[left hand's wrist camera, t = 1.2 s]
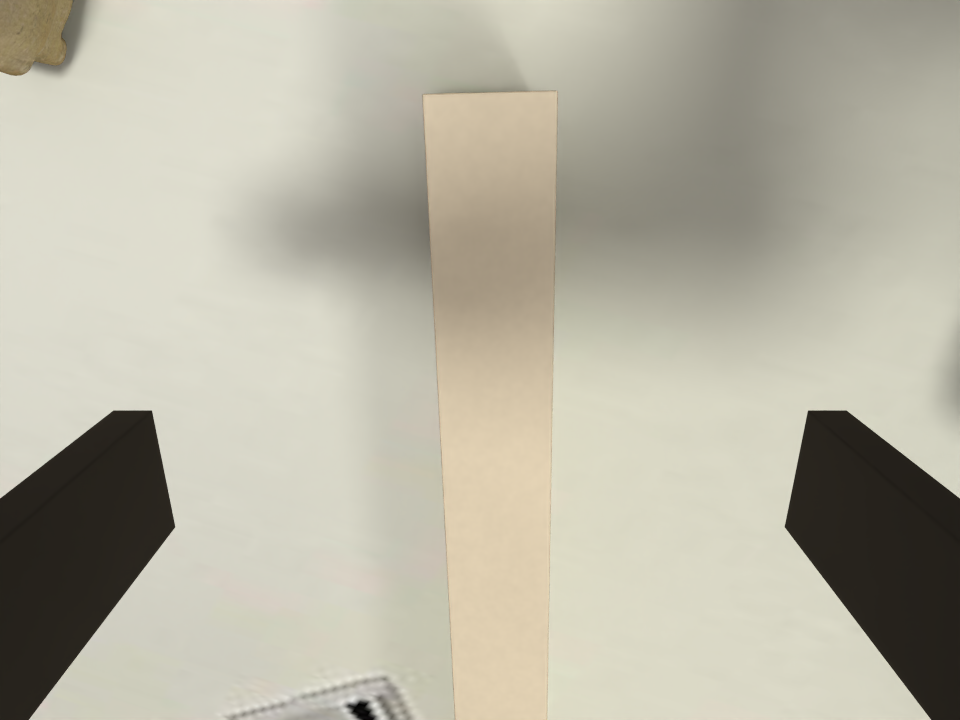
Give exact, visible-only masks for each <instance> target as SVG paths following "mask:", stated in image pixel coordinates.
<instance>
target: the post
mask: <svg viewBox="0 0 960 720" xmlns="http://www.w3.org/2000/svg"><path fill="white" fill-rule="evenodd" d="M422 97H423V116H424V135H425V155H426V174H427V193H428V212H429V231H430V250H431V269H432V288H433V307H434V327H435V346H436V365H437V384H438V403H439V422H440V441H441V460H442V479H443V499H444V518H445V537H446V556H447V575H448V594H449V613H450V632H451V651H452V671H453V690H454V709H455V720H547V690H548V632H549V574H550V516H551V458H552V400H553V342H554V285H555V227H556V169H557V111H558V91H520V92H482V93H444V94H423V96H422Z"/></svg>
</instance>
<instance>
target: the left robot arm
mask: <svg viewBox="0 0 960 720" xmlns="http://www.w3.org/2000/svg"><path fill="white" fill-rule="evenodd" d="M174 528H175V524H174V519H173V514H172V509H171V504H170V499H169V494H168V489H167V484H166V479H165V474H164V469H163V464H162V459H161V454H160V449H159V444H158V439H157V434H156V429H155V424H154V419H153V414H152V411H112V412H111V413H110V414H109V415H107V416H106V417H105V418H103V419H102V420H101V421H100V422H98V423H97V424H96V425H94V426H93V427H92V428H91V429H89V430H88V431H87V432H85V433H84V434H83V435H82V436H80V437H79V438H78V439H76V440H75V441H74V442H73V443H71V444H70V445H69V446H67V447H66V448H65V449H64V450H62V451H61V452H60V453H58V454H57V455H56V456H54V457H53V458H52V459H51V460H49V461H48V462H47V463H45V464H44V465H43V466H42V467H40V468H39V469H38V470H36V471H35V472H34V473H33V474H31V475H30V476H29V477H27V478H26V479H25V480H24V481H22V482H21V483H20V484H18V485H17V486H16V487H15V488H13V489H12V490H11V491H9V492H8V493H7V494H6V495H4V496H3V497H2V498H0V720H29V719H30V717H31V716H32V715H33V713H34V712H35V711H36V709H37V708H38V707H39V705H40V704H41V703H42V702H43V700H44V699H45V698H46V696H47V695H48V694H49V692H50V691H51V690H52V688H53V687H54V686H55V684H56V683H57V682H58V681H59V679H60V678H61V677H62V675H63V674H64V673H65V671H66V670H67V669H68V667H69V666H70V665H71V663H72V662H73V661H74V659H75V658H76V657H77V656H78V654H79V653H80V652H81V650H82V649H83V648H84V646H85V645H86V644H87V642H88V641H89V640H90V638H91V637H92V636H93V634H94V633H95V632H96V631H97V629H98V628H99V627H100V625H101V624H102V623H103V621H104V620H105V619H106V617H107V616H108V615H109V613H110V612H111V611H112V609H113V608H114V607H115V606H116V604H117V603H118V602H119V600H120V599H121V598H122V596H123V595H124V594H125V592H126V591H127V590H128V588H129V587H130V586H131V585H132V583H133V582H134V581H135V579H136V578H137V577H138V575H139V574H140V573H141V571H142V570H143V569H144V567H145V566H146V565H147V563H148V562H149V561H150V560H151V558H152V557H153V556H154V554H155V553H156V552H157V550H158V549H159V548H160V546H161V545H162V544H163V542H164V541H165V540H166V538H167V537H168V536H169V535H170V533H171V532H172V531H173V529H174ZM785 528H786V529H787V531H788V532H789V533H790V535H791V536H792V537H793V538H794V540H795V541H796V542H797V544H798V545H799V546H800V548H801V549H802V550H803V552H804V553H805V554H806V556H807V557H808V558H809V560H810V561H811V562H812V563H813V565H814V566H815V567H816V569H817V570H818V571H819V573H820V574H821V575H822V577H823V578H824V579H825V581H826V582H827V583H828V585H829V586H830V587H831V588H832V590H833V591H834V592H835V594H836V595H837V596H838V598H839V599H840V600H841V602H842V603H843V604H844V606H845V607H846V608H847V609H848V611H849V612H850V613H851V615H852V616H853V617H854V619H855V620H856V621H857V623H858V624H859V625H860V627H861V628H862V629H863V631H864V632H865V633H866V634H867V636H868V637H869V638H870V640H871V641H872V642H873V644H874V645H875V646H876V648H877V649H878V650H879V652H880V653H881V654H882V656H883V657H884V658H885V659H886V661H887V662H888V663H889V665H890V666H891V667H892V669H893V670H894V671H895V673H896V674H897V675H898V677H899V678H900V679H901V681H902V682H903V683H904V684H905V686H906V687H907V688H908V690H909V691H910V692H911V694H912V695H913V696H914V698H915V699H916V700H917V702H918V703H919V704H920V705H921V707H922V708H923V709H924V711H925V712H926V713H927V715H928V716H929V717H930V719H931V720H960V498H958V497H957V496H956V495H954V494H953V493H952V492H951V491H949V490H948V489H947V488H945V487H944V486H943V485H942V484H940V483H939V482H938V481H936V480H935V479H934V478H933V477H931V476H930V475H929V474H927V473H926V472H925V471H924V470H922V469H921V468H920V467H918V466H917V465H916V464H915V463H913V462H912V461H911V460H909V459H908V458H907V457H906V456H904V455H903V454H902V453H900V452H899V451H898V450H896V449H895V448H894V447H893V446H891V445H890V444H889V443H887V442H886V441H885V440H884V439H882V438H881V437H880V436H878V435H877V434H876V433H875V432H873V431H872V430H871V429H869V428H868V427H867V426H866V425H864V424H863V423H862V422H860V421H859V420H858V419H857V418H855V417H854V416H853V415H851V414H850V413H849V412H848V411H808V414H807V419H806V424H805V429H804V434H803V439H802V444H801V449H800V454H799V459H798V464H797V469H796V474H795V479H794V484H793V489H792V494H791V499H790V504H789V509H788V514H787V519H786V524H785Z"/></svg>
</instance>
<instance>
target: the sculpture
mask: <svg viewBox="0 0 960 720" xmlns="http://www.w3.org/2000/svg"><path fill="white" fill-rule="evenodd" d="M72 3H73V0H0V72H3V73H6V74H9V75H14V76H17V75H23V74H25V73H27V72H28V71H29V70H30V68H31V66H32V64H33V62H34V61H36V62H40V63H45V64H50V65H60V64H61V63H62V62H63V61H64V59H65V55H66V50H67V47H66V43H65V40H64V39H63V38H61V33H62V31H63V28H64V25H65V23H66V21H67V19H68V16H69V14H70V11H71V7H72Z"/></svg>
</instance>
